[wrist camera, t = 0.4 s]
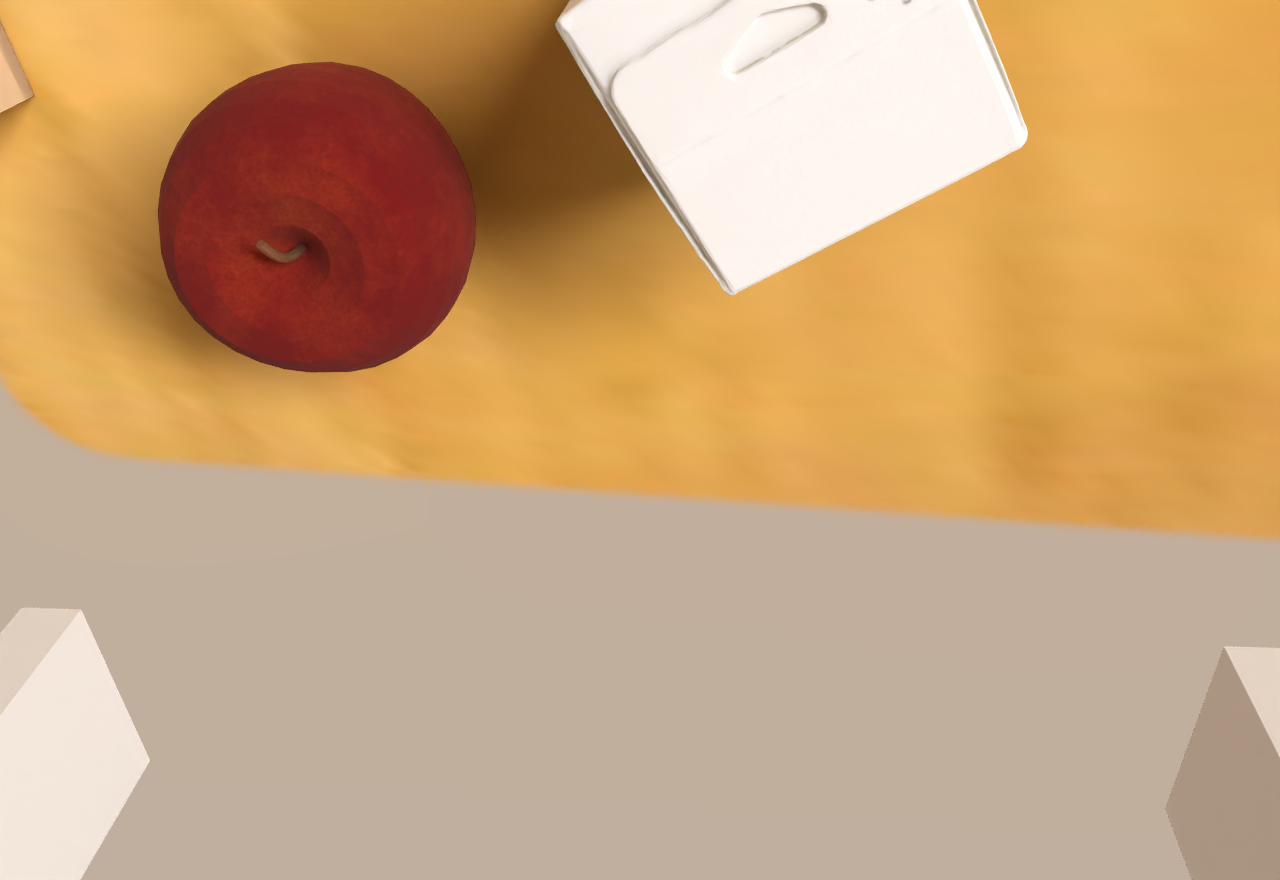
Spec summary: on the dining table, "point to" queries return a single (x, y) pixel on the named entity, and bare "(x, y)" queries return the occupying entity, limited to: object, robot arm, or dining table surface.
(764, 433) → the dining table surface
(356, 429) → the dining table surface
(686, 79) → the ink box
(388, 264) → the apple
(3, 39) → the carton
